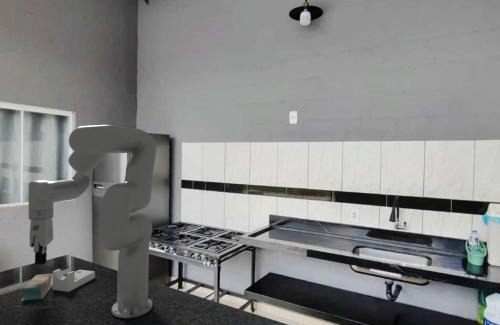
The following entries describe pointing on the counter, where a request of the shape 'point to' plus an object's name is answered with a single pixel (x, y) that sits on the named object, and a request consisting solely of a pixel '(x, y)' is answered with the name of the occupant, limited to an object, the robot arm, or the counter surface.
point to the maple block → (37, 287)
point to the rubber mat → (47, 289)
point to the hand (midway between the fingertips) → (40, 263)
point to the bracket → (71, 279)
